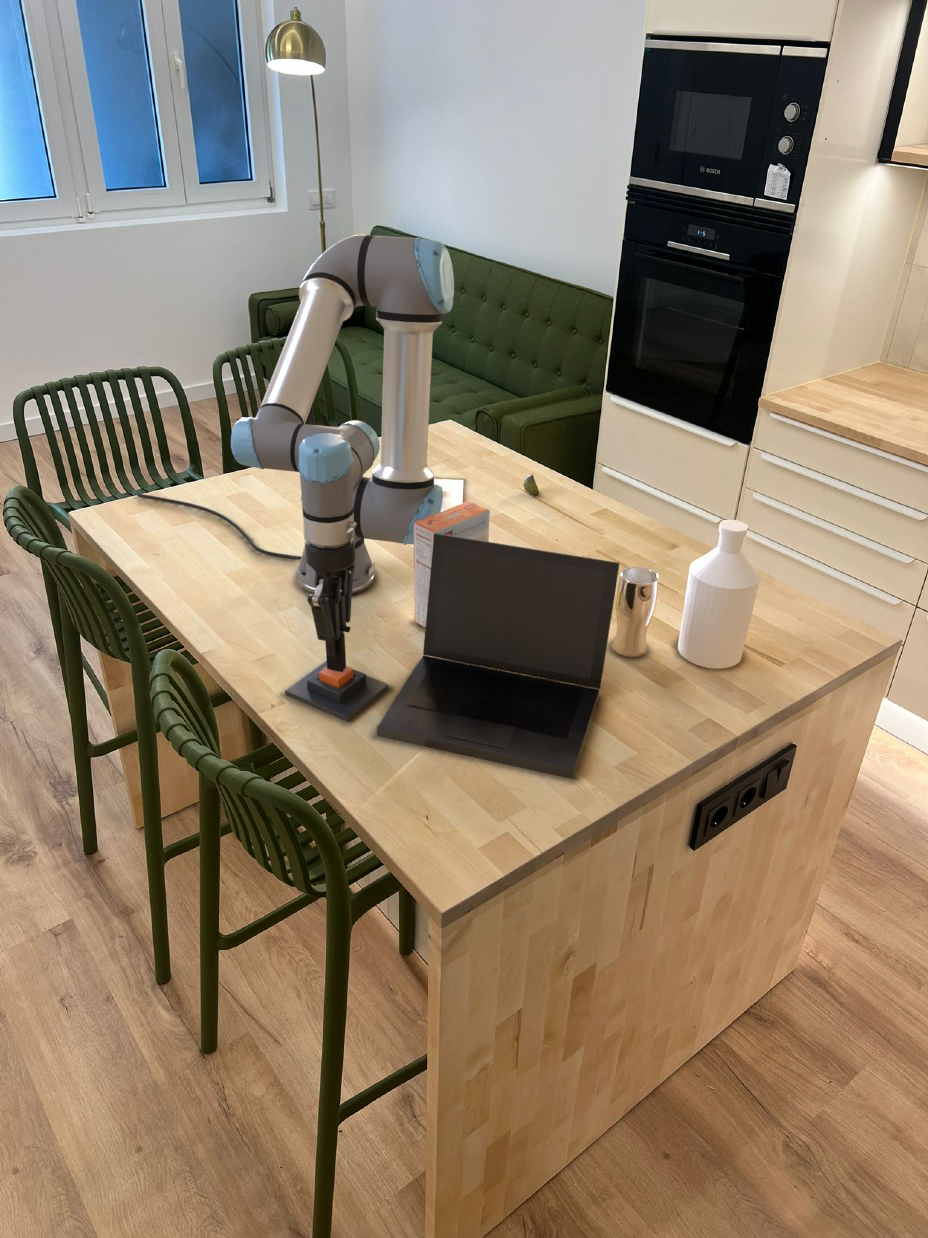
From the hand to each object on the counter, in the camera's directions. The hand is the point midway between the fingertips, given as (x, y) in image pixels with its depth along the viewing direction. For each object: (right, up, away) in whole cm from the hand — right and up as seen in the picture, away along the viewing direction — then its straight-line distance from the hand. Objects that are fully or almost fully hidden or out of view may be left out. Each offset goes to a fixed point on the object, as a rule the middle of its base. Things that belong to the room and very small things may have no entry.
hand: (336, 667), depth 153 cm
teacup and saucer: (+11, +38, +73) cm, 83 cm away
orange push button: (0, -4, +2) cm, 5 cm away
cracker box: (+18, +8, +25) cm, 32 cm away
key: (0, -2, +1) cm, 2 cm away
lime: (+37, +38, +76) cm, 93 cm away
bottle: (+65, +2, +17) cm, 67 cm away
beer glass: (+51, +2, +17) cm, 53 cm away
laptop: (+25, -8, -2) cm, 26 cm away
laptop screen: (+30, +9, +2) cm, 31 cm away
